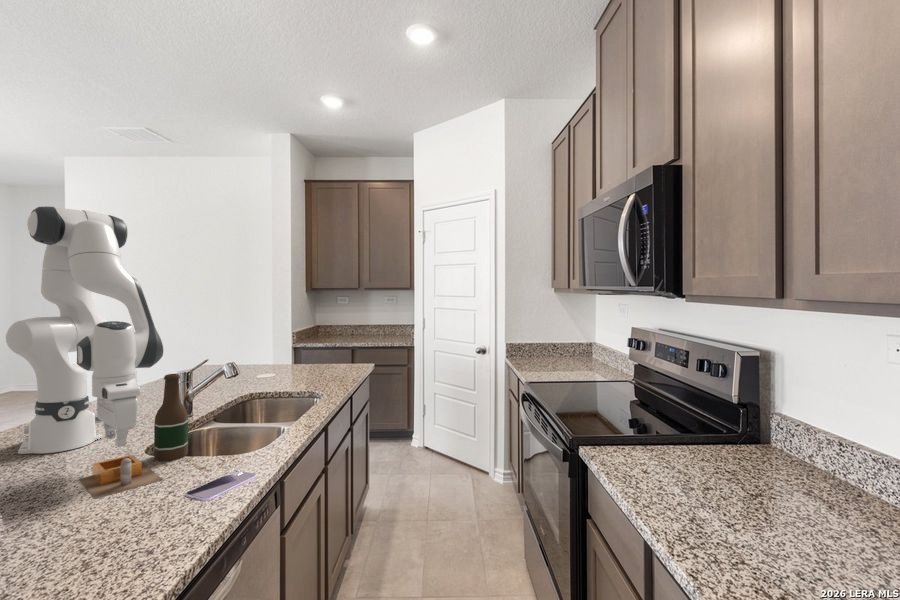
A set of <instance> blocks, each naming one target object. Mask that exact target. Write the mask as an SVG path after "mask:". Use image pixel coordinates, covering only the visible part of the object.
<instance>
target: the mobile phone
mask: <svg viewBox="0 0 900 600" xmlns="http://www.w3.org/2000/svg"><path fill="white" fill-rule="evenodd" d="M256 478H258V475H257V474H256V473H253V472H248V471H243V470H235V473H230V474H227V475H224V476H221V477H218V478H216V479H215V480H211V481H210V482H207V483H205V484H202V485H201V486H199V487H196V488H194V489H191V490H189V491H187V492H186V493H185V495H184V497H186V498H190V499H195V500H198V501H202V502H208V501H212V500H213V499H216V498H217V497H220V496H222V495H224V494H226V493H228V492H229V491H232V490H234V489H236V488H238V487H240V486H242V485H244V484H246V483H248V482H250V481H252V480H255V479H256Z"/></svg>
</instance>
